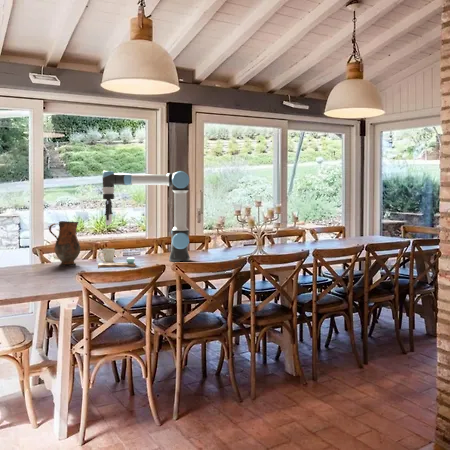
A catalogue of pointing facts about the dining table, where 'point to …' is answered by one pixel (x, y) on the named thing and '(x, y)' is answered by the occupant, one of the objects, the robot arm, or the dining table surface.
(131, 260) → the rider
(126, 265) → the wooden flat board
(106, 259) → the mug
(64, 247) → the pitcher
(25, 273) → the dining table surface
